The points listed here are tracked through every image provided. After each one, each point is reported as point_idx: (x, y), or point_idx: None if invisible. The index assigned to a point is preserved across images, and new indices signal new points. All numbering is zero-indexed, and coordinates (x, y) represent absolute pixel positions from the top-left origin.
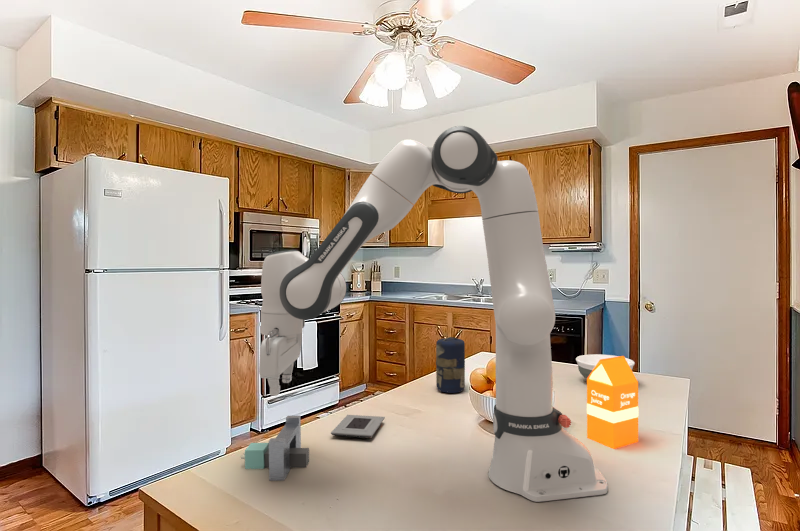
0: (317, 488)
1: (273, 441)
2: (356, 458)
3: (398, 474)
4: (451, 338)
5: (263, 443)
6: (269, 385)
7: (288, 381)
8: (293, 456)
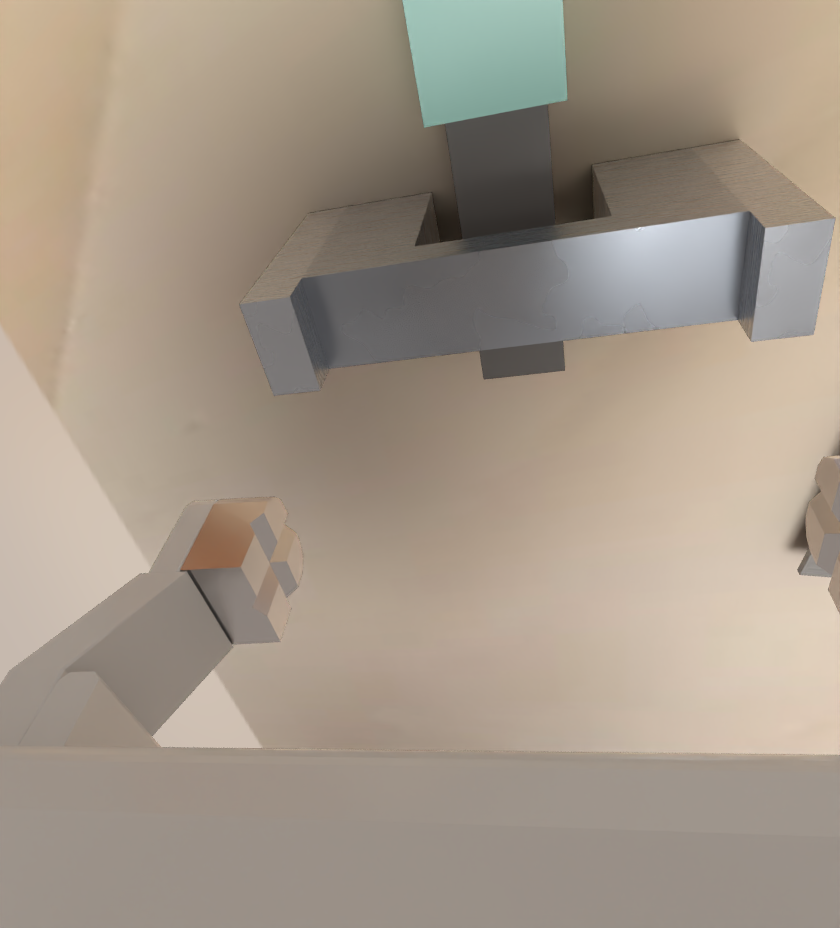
0: (308, 443)
1: (251, 335)
2: (598, 519)
3: (470, 643)
4: None
5: (549, 56)
6: (111, 599)
7: (809, 534)
8: None
